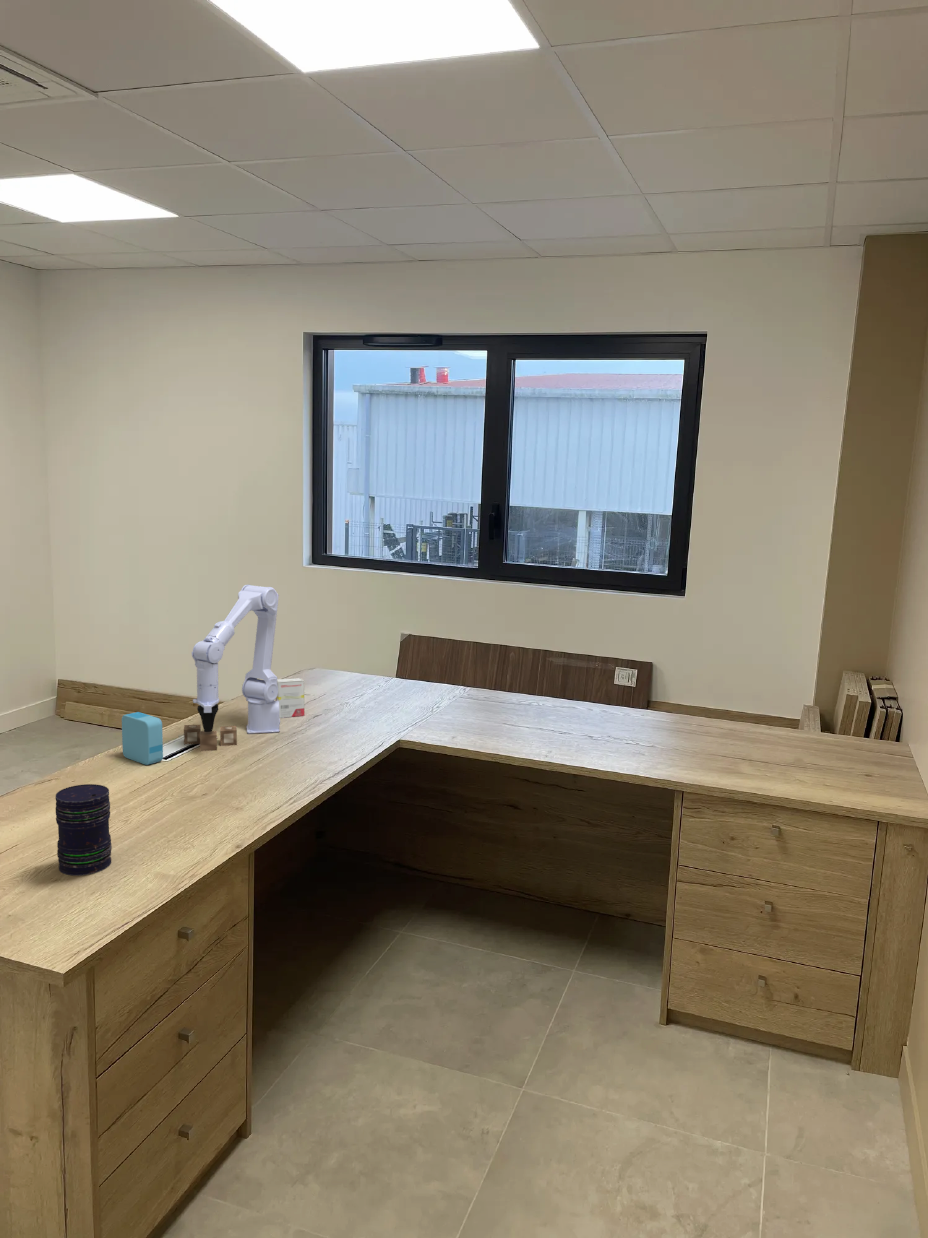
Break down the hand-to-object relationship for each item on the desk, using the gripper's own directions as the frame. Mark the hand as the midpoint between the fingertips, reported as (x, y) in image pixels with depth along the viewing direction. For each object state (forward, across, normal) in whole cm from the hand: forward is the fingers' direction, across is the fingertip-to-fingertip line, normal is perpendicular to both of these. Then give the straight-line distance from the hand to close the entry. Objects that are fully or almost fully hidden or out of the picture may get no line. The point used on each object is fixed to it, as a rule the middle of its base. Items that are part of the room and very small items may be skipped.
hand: (208, 731), depth 249 cm
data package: (+5, +7, -17) cm, 19 cm away
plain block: (+5, 0, 0) cm, 5 cm away
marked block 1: (+5, -7, -4) cm, 10 cm away
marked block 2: (+5, -4, +6) cm, 9 cm away
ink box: (+5, -31, +25) cm, 40 cm away
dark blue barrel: (+6, +72, -23) cm, 76 cm away
